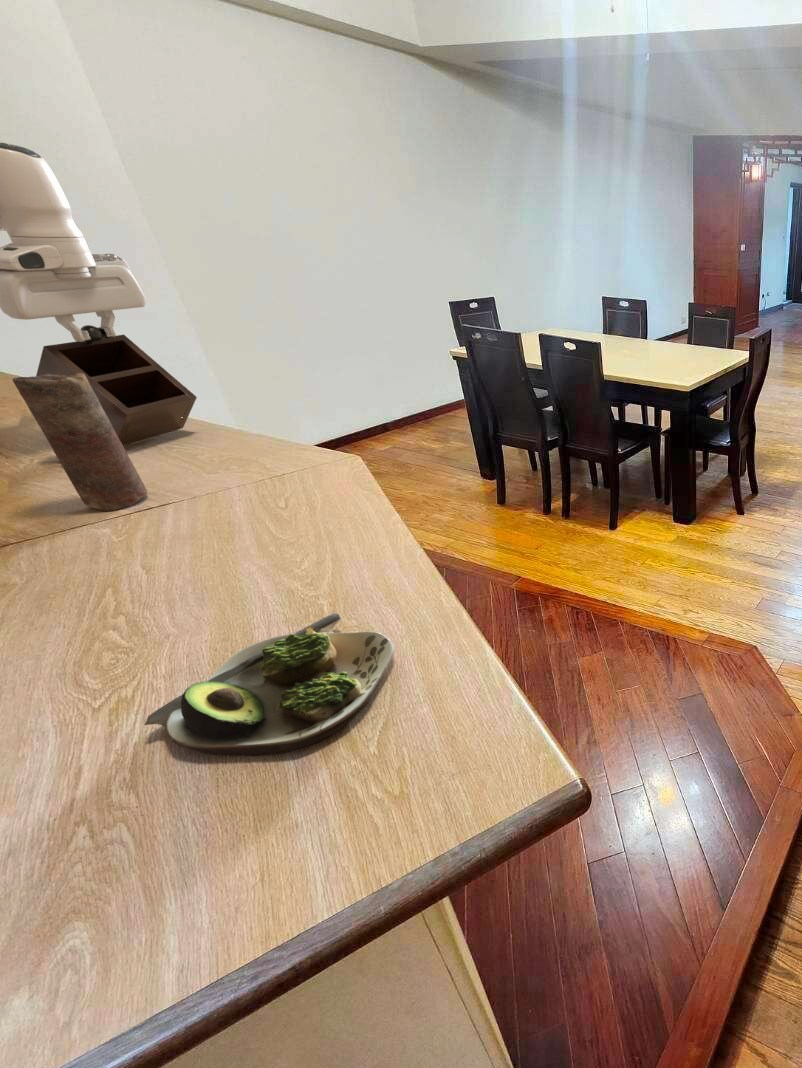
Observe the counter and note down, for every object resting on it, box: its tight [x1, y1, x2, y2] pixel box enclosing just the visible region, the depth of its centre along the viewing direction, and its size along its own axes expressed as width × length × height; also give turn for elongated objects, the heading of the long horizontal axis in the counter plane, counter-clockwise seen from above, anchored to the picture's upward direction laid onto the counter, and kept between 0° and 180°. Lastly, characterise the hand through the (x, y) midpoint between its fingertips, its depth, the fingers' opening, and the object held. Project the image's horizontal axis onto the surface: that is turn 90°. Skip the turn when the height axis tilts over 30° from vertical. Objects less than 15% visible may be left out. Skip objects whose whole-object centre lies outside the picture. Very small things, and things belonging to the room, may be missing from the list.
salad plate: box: [143, 613, 395, 757], centre depth 59 cm, size 19×18×5 cm
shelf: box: [35, 324, 198, 446], centre depth 112 cm, size 17×13×14 cm
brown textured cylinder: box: [12, 373, 148, 512], centre depth 88 cm, size 8×7×20 cm
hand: (96, 339), depth 108 cm, fingers closed on shelf, 3 cm apart
